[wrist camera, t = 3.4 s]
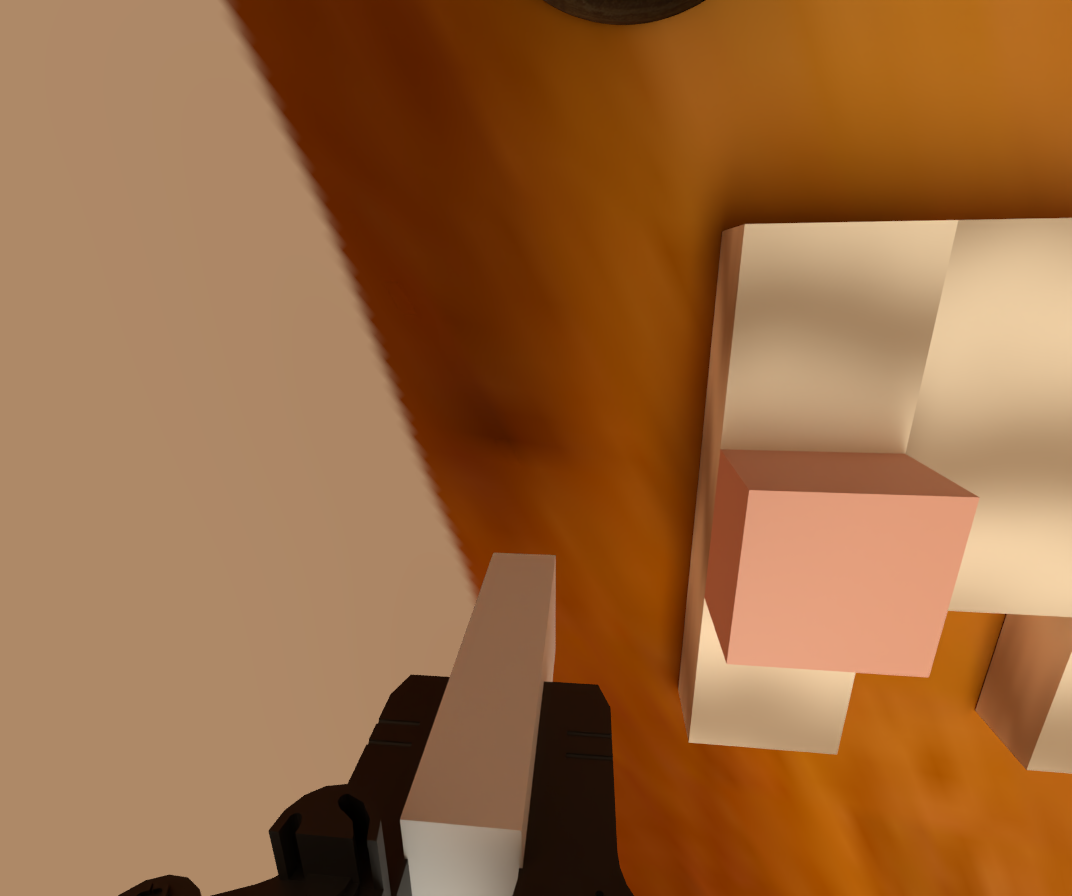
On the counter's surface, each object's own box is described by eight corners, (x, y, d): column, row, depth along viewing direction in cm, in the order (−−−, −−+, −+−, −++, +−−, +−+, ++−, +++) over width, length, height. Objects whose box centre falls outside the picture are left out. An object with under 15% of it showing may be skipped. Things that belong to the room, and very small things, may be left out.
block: (720, 449, 15) (749, 490, 12) (905, 453, 15) (979, 497, 12) (704, 597, 17) (726, 664, 14) (870, 606, 16) (928, 677, 13)
